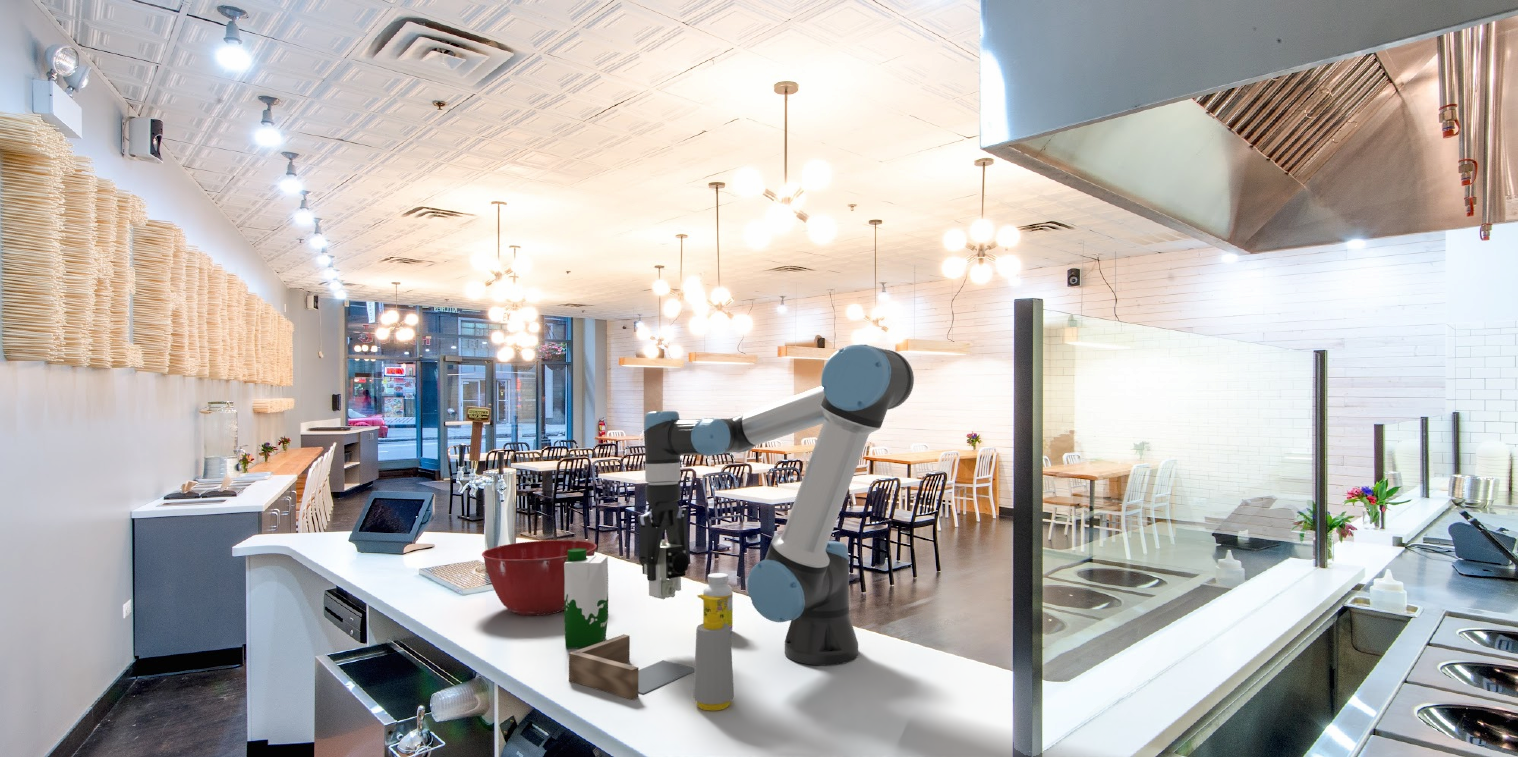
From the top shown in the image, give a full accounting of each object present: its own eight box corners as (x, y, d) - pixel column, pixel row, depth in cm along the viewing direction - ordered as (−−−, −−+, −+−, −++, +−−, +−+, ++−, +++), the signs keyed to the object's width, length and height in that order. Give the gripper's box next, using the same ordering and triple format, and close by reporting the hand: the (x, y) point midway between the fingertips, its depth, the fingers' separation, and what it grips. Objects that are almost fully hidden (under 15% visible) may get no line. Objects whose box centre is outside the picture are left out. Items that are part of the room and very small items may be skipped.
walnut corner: (685, 675, 137) (685, 648, 137) (631, 699, 125) (631, 669, 125) (623, 659, 146) (623, 634, 146) (568, 680, 134) (568, 652, 135)
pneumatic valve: (672, 603, 148) (671, 543, 149) (638, 595, 156) (638, 538, 157) (693, 598, 152) (692, 540, 153) (659, 590, 160) (658, 535, 161)
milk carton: (570, 636, 161) (571, 546, 162) (611, 636, 161) (611, 545, 162) (559, 649, 152) (560, 553, 154) (602, 649, 153) (603, 553, 154)
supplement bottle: (698, 634, 162) (697, 576, 163) (711, 626, 168) (710, 570, 169) (725, 637, 160) (724, 578, 160) (737, 629, 166) (737, 572, 167)
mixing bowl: (455, 619, 176) (456, 555, 177) (525, 592, 204) (526, 536, 204) (557, 628, 168) (557, 561, 169) (616, 598, 195) (616, 541, 196)
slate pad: (697, 669, 140) (697, 668, 140) (643, 694, 127) (643, 693, 127) (663, 660, 145) (663, 659, 145) (607, 683, 132) (607, 682, 132)
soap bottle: (712, 693, 128) (711, 590, 129) (742, 702, 123) (741, 596, 124) (684, 705, 122) (684, 597, 123) (714, 715, 118) (714, 604, 119)
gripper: (678, 479, 165) (680, 582, 164) (618, 486, 150) (620, 600, 148) (704, 479, 161) (706, 585, 159) (645, 486, 146) (647, 604, 144)
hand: (665, 592), depth 154 cm, fingers closed on pneumatic valve, 6 cm apart
